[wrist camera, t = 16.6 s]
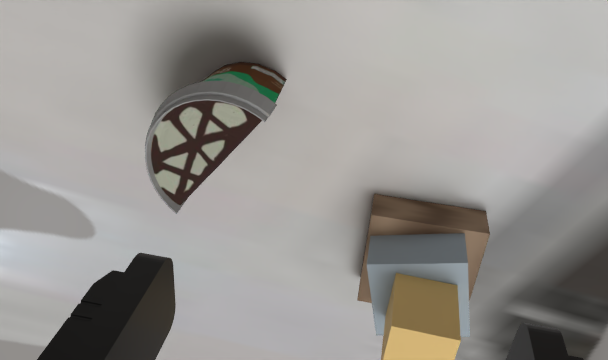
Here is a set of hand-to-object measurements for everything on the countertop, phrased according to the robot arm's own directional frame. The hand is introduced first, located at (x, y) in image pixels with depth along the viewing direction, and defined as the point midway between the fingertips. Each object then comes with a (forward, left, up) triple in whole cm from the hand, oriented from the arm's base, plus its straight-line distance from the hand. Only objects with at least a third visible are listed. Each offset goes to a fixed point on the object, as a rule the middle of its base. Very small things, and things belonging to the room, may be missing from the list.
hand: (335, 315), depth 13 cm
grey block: (+6, -23, -31) cm, 39 cm away
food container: (-13, -10, -34) cm, 38 cm away
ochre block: (+6, -23, -27) cm, 36 cm away
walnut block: (+6, -23, -35) cm, 42 cm away
